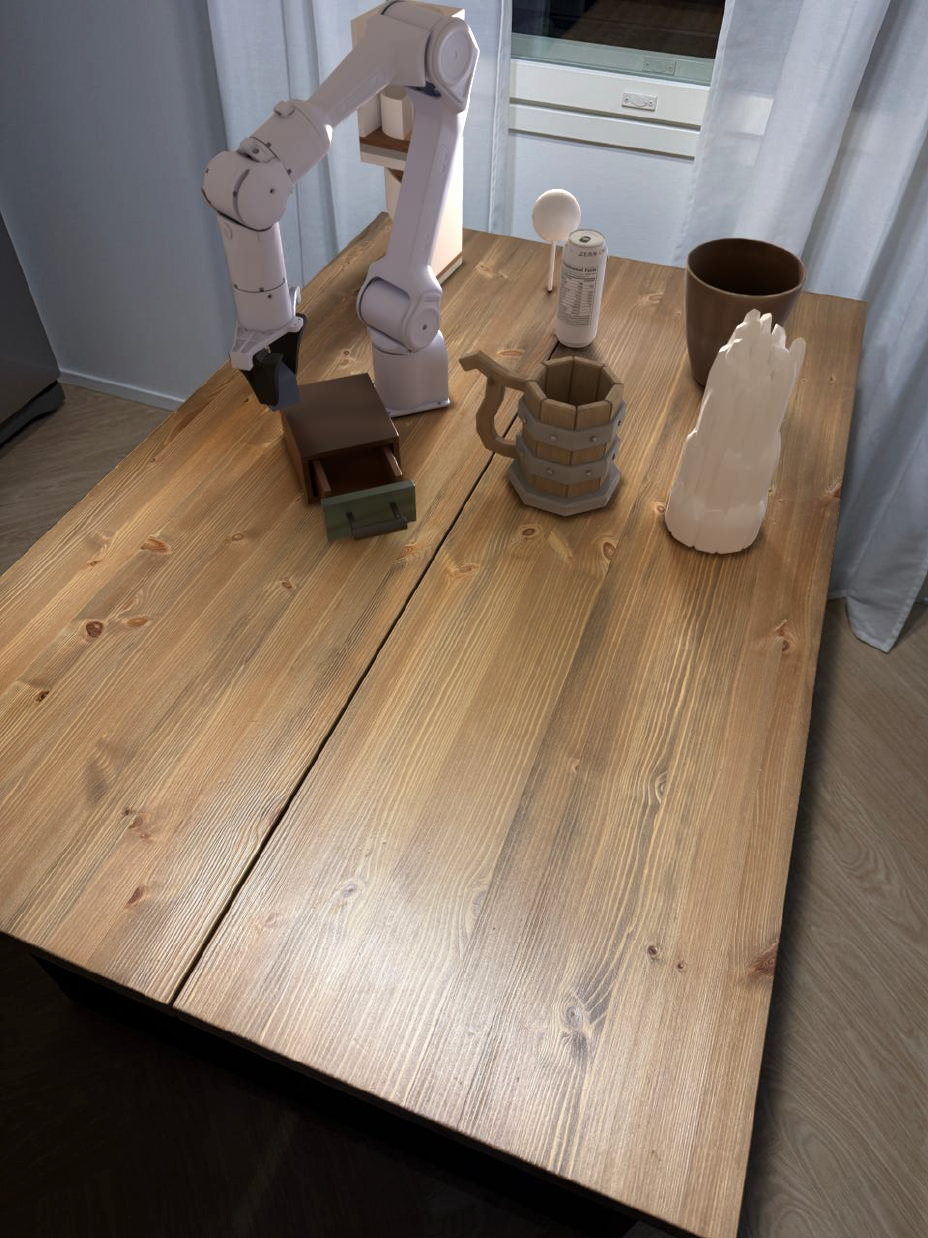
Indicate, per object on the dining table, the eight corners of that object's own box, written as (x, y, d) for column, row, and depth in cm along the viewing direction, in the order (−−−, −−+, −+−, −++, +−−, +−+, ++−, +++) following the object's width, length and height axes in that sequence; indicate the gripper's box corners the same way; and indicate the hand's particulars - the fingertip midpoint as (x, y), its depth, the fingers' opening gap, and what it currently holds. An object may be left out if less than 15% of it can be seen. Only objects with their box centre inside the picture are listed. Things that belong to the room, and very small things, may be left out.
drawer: (427, 544, 100) (426, 509, 96) (337, 566, 97) (332, 531, 93) (386, 455, 110) (383, 420, 106) (303, 473, 108) (297, 438, 104)
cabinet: (401, 483, 108) (399, 436, 103) (308, 504, 105) (300, 456, 100) (371, 419, 116) (367, 372, 111) (284, 436, 114) (275, 389, 108)
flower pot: (750, 420, 117) (785, 308, 105) (646, 384, 122) (667, 274, 110) (787, 365, 125) (822, 256, 113) (688, 334, 130) (712, 227, 118)
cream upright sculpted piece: (758, 560, 100) (829, 367, 81) (662, 546, 101) (710, 352, 82) (757, 497, 107) (822, 306, 88) (667, 485, 108) (712, 293, 89)
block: (258, 397, 104) (253, 370, 101) (286, 387, 106) (281, 360, 103) (272, 412, 102) (267, 385, 100) (300, 402, 104) (296, 375, 101)
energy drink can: (603, 335, 130) (617, 234, 119) (582, 354, 127) (595, 252, 115) (567, 322, 132) (578, 222, 121) (546, 340, 129) (555, 239, 118)
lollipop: (573, 279, 141) (583, 181, 129) (572, 302, 136) (582, 203, 125) (528, 276, 141) (534, 179, 130) (525, 299, 136) (532, 200, 125)
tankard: (628, 464, 111) (648, 358, 99) (595, 527, 103) (612, 420, 92) (482, 422, 116) (485, 317, 105) (440, 479, 109) (438, 372, 97)
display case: (404, 248, 147) (393, -3, 120) (462, 262, 144) (464, 8, 117) (369, 279, 140) (350, 20, 114) (429, 295, 137) (424, 33, 111)
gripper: (267, 319, 87) (286, 432, 98) (320, 251, 96) (332, 360, 107) (201, 309, 88) (227, 422, 99) (259, 242, 98) (277, 351, 108)
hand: (278, 389), depth 103 cm, fingers closed on block, 5 cm apart
